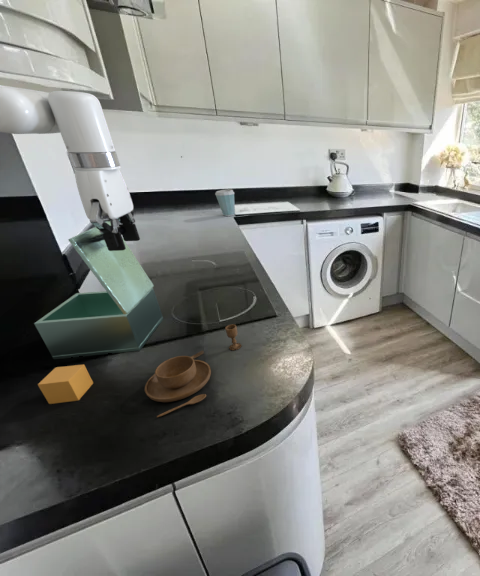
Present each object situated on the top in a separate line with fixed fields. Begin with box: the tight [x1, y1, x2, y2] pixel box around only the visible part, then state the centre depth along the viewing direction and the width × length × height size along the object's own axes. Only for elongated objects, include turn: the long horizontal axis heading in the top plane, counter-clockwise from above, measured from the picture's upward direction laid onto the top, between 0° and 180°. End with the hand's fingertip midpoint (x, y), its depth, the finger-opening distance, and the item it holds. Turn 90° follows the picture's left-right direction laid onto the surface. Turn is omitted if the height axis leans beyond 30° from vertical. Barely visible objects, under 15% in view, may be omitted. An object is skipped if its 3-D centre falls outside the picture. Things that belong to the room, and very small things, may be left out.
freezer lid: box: [67, 222, 155, 314], centre depth 76 cm, size 19×15×5 cm
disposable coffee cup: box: [214, 188, 236, 217], centre depth 197 cm, size 11×11×15 cm
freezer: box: [33, 287, 164, 360], centre depth 81 cm, size 18×15×10 cm
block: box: [37, 364, 94, 405], centre depth 64 cm, size 5×5×5 cm
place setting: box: [144, 323, 242, 418], centre depth 69 cm, size 18×20×6 cm
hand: (125, 244), depth 74 cm, fingers closed on freezer lid, 6 cm apart
